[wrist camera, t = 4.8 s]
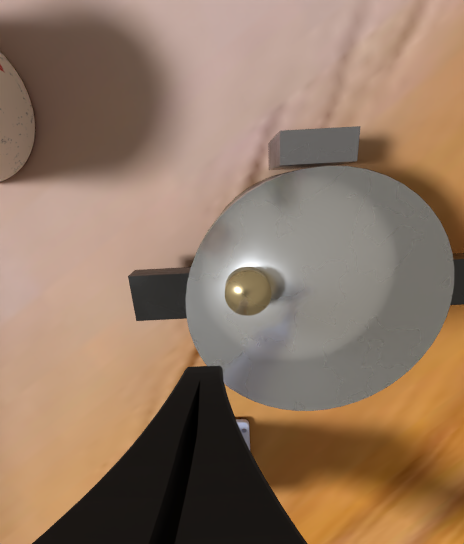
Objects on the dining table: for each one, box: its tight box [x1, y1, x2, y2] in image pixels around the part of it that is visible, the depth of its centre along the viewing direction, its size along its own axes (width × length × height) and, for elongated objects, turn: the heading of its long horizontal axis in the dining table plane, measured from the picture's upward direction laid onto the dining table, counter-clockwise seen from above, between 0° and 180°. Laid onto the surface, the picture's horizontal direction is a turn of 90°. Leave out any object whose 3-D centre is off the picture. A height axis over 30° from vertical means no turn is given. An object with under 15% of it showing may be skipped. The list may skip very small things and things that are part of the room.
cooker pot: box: [128, 126, 464, 321], centre depth 17 cm, size 16×22×4 cm
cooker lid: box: [186, 166, 454, 411], centre depth 15 cm, size 15×15×2 cm
